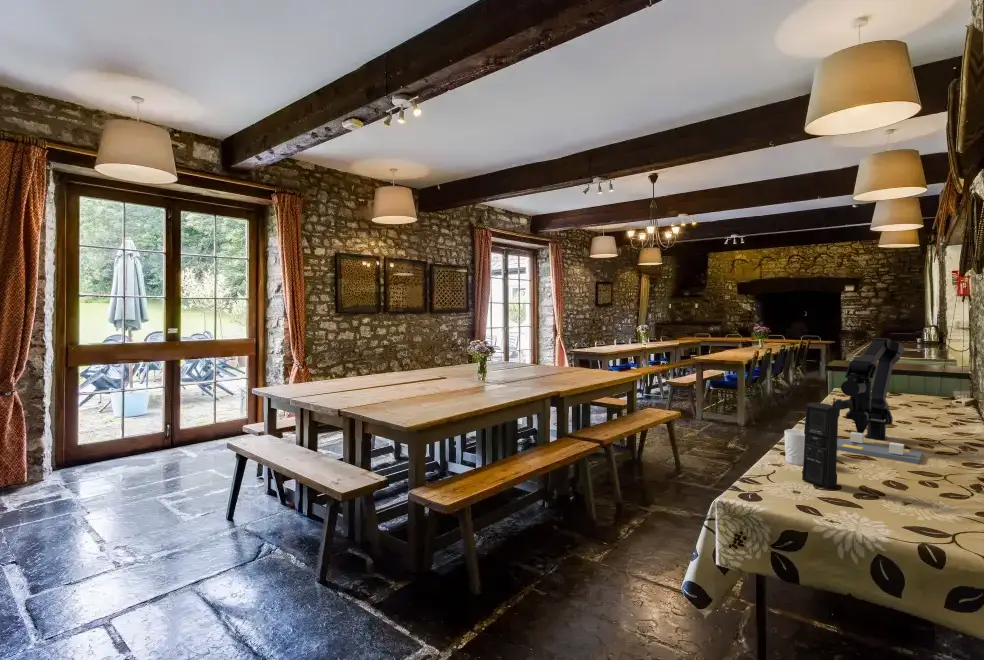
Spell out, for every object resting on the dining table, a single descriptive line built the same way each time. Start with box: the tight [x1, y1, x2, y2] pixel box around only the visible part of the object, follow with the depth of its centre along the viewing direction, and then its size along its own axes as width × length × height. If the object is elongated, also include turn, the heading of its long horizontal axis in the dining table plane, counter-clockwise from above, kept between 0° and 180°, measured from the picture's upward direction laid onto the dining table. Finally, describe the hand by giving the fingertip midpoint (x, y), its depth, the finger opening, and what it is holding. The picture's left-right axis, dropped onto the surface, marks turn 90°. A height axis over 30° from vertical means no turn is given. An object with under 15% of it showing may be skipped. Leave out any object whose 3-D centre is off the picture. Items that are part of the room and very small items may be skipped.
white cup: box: [784, 428, 805, 467], centre depth 160 cm, size 8×8×10 cm
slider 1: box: [849, 431, 865, 443], centre depth 179 cm, size 3×4×3 cm
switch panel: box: [837, 437, 924, 465], centre depth 172 cm, size 13×24×2 cm, turn 45°
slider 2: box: [888, 441, 905, 455], centre depth 165 cm, size 3×4×3 cm
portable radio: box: [801, 397, 841, 489], centre depth 141 cm, size 8×6×25 cm
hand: (859, 435), depth 184 cm, fingers closed
